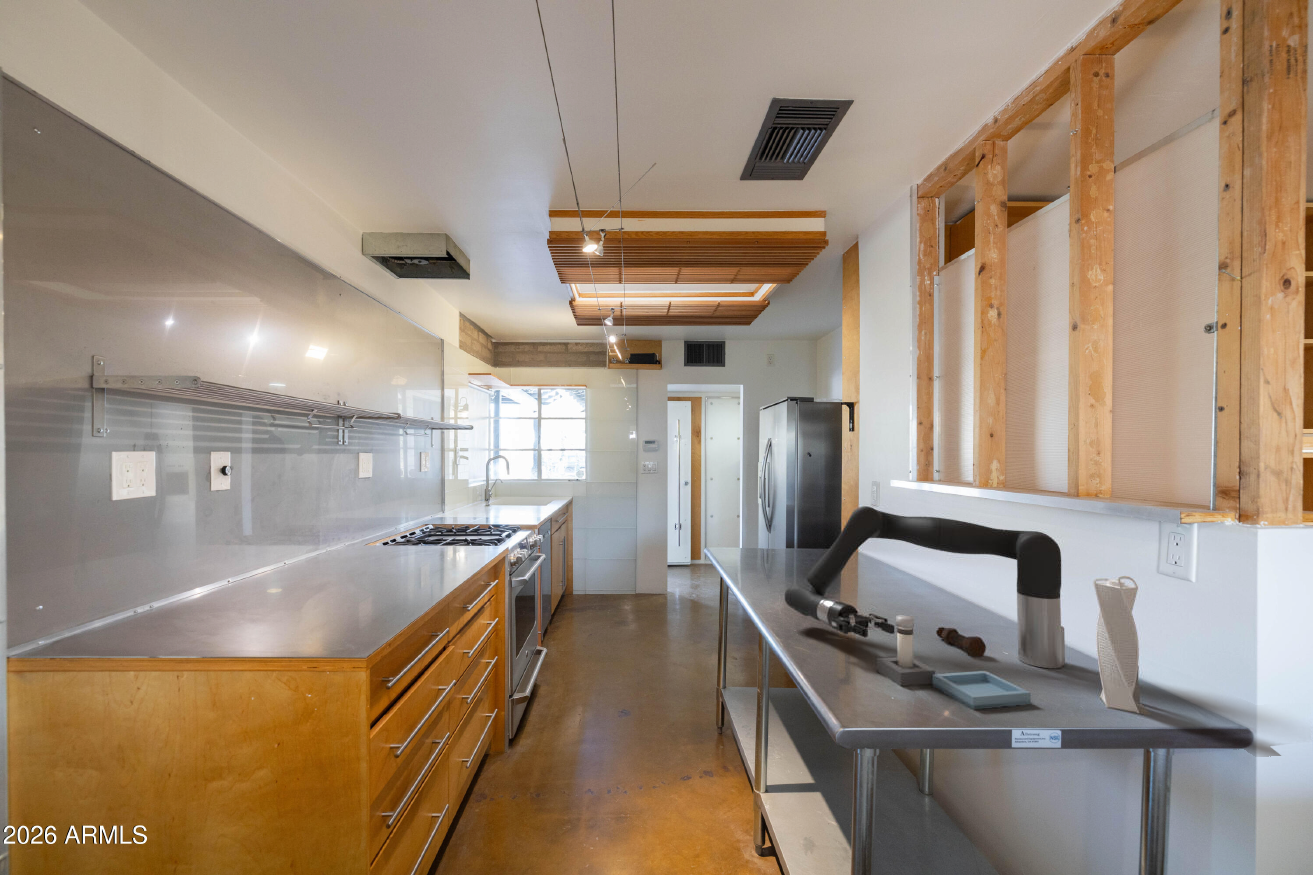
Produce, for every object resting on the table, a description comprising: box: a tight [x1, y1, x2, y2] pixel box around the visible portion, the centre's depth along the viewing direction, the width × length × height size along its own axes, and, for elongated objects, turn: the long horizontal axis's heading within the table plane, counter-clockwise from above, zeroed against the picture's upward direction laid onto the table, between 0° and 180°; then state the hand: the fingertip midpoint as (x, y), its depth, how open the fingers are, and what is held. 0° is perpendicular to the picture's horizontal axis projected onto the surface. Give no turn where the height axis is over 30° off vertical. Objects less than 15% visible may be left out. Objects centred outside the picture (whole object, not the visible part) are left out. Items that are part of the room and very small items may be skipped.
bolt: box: [936, 626, 987, 658], centre depth 149 cm, size 6×5×15 cm
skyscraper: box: [1093, 575, 1152, 716], centre depth 114 cm, size 8×8×28 cm
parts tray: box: [932, 670, 1031, 710], centre depth 118 cm, size 14×12×2 cm
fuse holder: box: [876, 656, 936, 687], centre depth 127 cm, size 9×9×3 cm
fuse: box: [895, 614, 915, 669], centre depth 127 cm, size 4×4×14 cm
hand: (880, 631), depth 135 cm, fingers open, 8 cm apart
